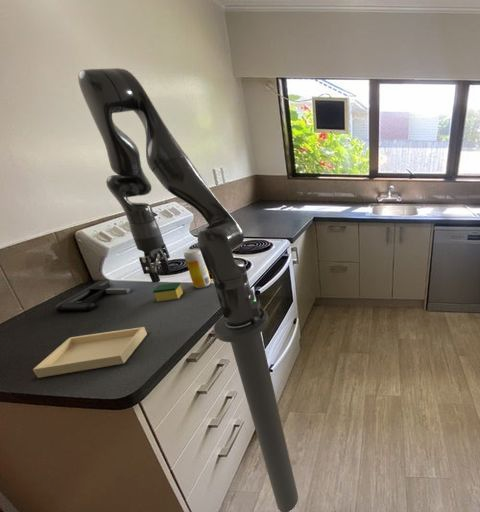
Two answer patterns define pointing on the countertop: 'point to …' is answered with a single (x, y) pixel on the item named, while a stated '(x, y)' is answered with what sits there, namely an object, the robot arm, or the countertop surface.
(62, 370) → the tray
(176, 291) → the sponge
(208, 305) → the countertop surface
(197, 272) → the white and yellow cylinder
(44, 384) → the countertop surface
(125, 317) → the countertop surface
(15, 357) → the countertop surface
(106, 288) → the door handle
